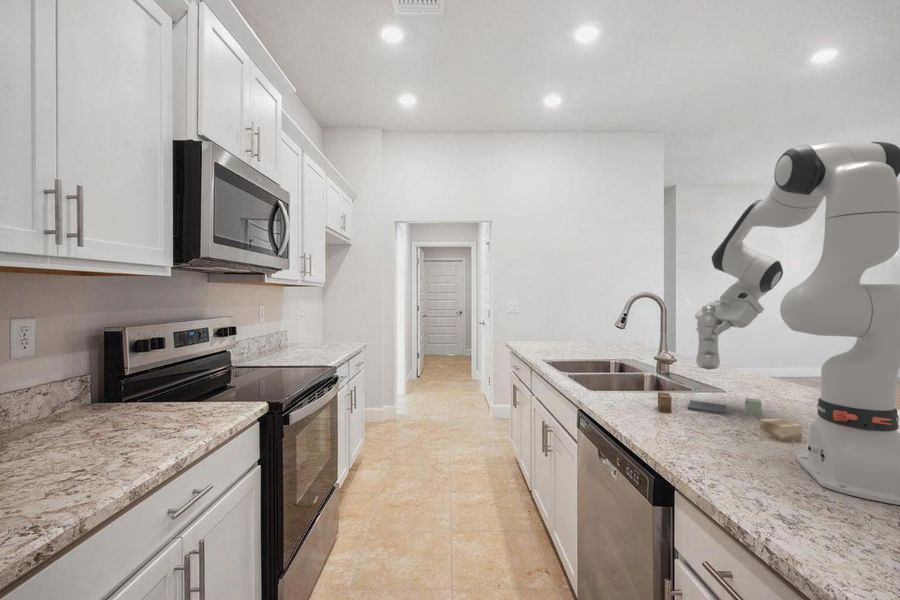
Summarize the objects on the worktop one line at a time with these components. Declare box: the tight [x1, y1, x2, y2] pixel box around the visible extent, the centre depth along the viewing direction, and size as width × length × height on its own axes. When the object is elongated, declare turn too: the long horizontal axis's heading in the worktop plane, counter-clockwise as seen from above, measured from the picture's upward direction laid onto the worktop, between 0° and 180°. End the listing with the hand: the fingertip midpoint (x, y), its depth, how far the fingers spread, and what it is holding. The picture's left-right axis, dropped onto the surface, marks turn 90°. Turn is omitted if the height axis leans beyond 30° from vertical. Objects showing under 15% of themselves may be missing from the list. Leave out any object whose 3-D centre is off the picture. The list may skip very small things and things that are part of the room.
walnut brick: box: [657, 391, 673, 414], centre depth 131 cm, size 6×3×5 cm, turn 161°
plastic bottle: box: [695, 305, 721, 370], centre depth 133 cm, size 6×7×20 cm
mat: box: [687, 400, 727, 416], centre depth 133 cm, size 10×10×1 cm
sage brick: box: [744, 397, 763, 416], centre depth 129 cm, size 4×4×4 cm
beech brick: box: [759, 417, 803, 443], centre depth 107 cm, size 6×6×4 cm
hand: (706, 332), depth 133 cm, fingers closed on plastic bottle, 6 cm apart
